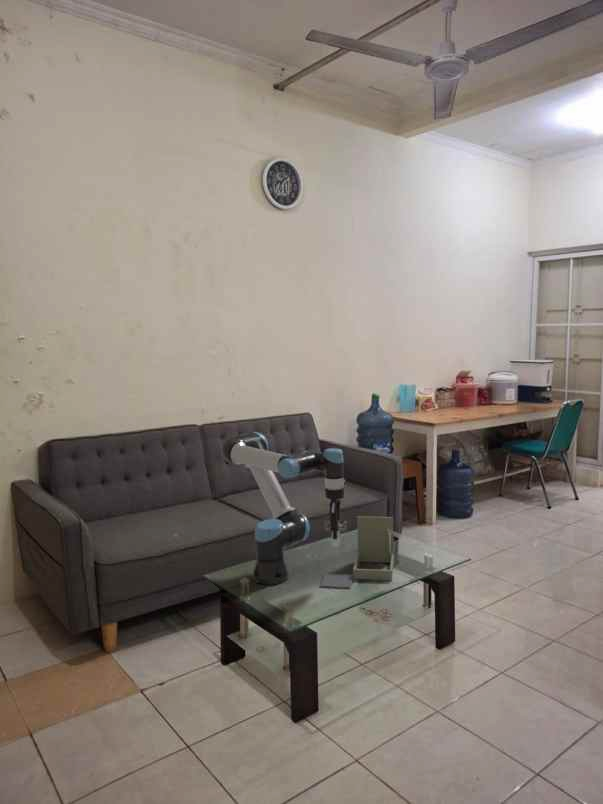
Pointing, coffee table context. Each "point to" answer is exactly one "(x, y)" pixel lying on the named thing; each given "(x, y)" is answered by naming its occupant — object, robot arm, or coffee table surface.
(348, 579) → the mat
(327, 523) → the mechanical component
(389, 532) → the case
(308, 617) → the coffee table surface
